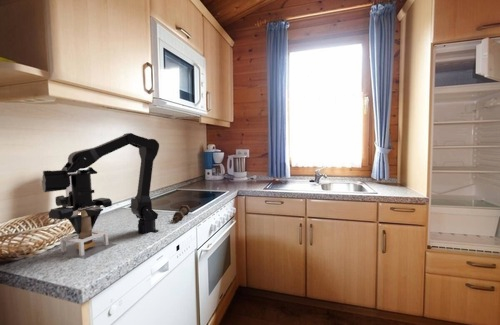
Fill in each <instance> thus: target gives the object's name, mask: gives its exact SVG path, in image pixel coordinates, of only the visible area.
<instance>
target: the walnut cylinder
mask: <svg viewBox="0 0 500 325" xmlns="http://www.w3.org/2000/svg"><path fill="white" fill-rule="evenodd" d="M92 230H93V229H92V227H91V216H83V217H82V218H81V232H80V234H78V236H77V237H78V238H77V239H85V238H87V237H90V236H93V233H92ZM92 240H93V239H91V240H89V241H86V242H84V245H86V244H89V243H91V242H92Z"/></svg>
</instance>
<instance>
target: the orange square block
mask: <svg viewBox="0 0 500 325" xmlns="http://www.w3.org/2000/svg"><path fill="white" fill-rule="evenodd" d="M95 241H96V240H95ZM95 241H92V242H91V243H89V244H86V245H84V250H85V249H87V248H90V247H92V246H94V245H95ZM76 248H77V249H79V243H77V244H76Z"/></svg>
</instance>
